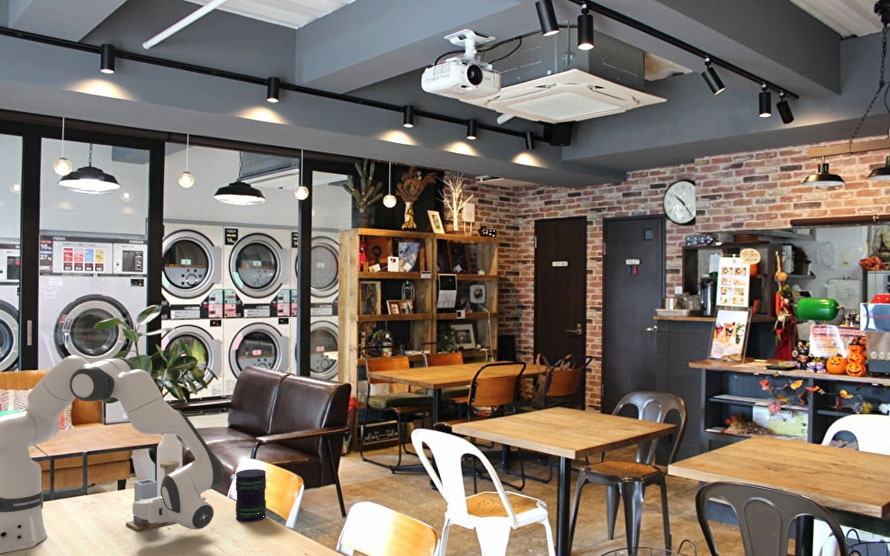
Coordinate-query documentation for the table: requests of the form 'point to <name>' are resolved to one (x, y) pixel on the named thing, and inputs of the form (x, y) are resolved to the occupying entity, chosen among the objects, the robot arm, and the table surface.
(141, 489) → the sleeve
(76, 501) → the table surface
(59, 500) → the table surface
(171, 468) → the handle
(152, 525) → the pin board
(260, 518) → the black cylinder
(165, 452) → the alcohol
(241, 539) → the table surface
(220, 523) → the table surface
